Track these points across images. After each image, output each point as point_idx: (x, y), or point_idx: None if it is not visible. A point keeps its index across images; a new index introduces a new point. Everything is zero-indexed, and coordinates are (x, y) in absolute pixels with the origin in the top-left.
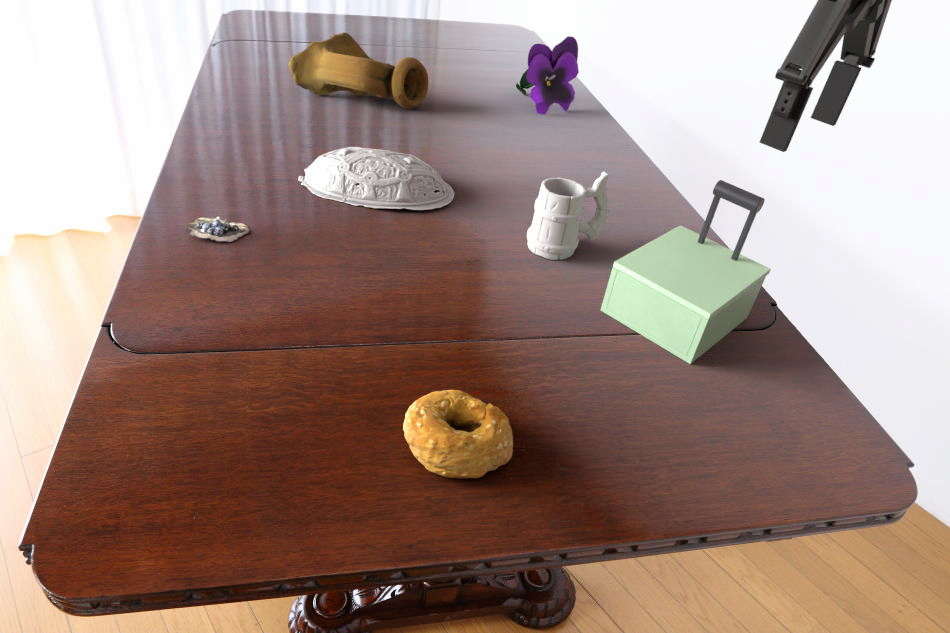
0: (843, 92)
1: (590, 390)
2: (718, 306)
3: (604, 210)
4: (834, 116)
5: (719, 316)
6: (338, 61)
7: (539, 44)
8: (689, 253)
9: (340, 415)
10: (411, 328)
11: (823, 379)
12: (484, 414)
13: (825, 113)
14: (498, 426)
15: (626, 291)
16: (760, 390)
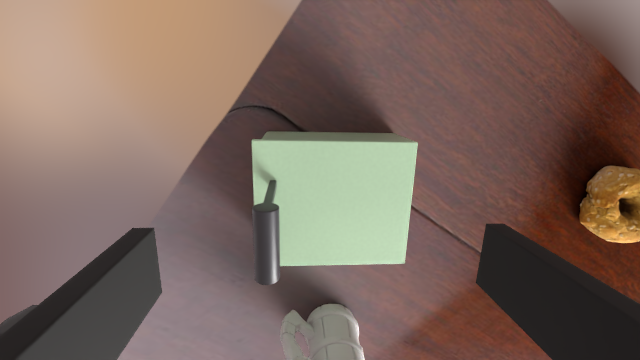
0: (92, 305)
1: (491, 173)
2: (395, 144)
3: (290, 334)
4: (143, 248)
5: (379, 139)
6: None
7: None
8: (313, 224)
9: (626, 265)
10: None
11: (302, 19)
12: (617, 202)
13: (145, 275)
14: (619, 188)
15: None
16: (376, 64)
